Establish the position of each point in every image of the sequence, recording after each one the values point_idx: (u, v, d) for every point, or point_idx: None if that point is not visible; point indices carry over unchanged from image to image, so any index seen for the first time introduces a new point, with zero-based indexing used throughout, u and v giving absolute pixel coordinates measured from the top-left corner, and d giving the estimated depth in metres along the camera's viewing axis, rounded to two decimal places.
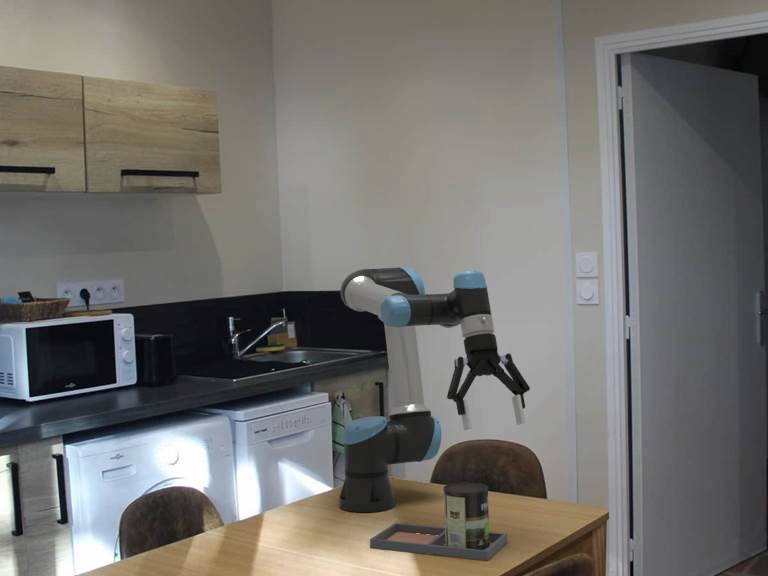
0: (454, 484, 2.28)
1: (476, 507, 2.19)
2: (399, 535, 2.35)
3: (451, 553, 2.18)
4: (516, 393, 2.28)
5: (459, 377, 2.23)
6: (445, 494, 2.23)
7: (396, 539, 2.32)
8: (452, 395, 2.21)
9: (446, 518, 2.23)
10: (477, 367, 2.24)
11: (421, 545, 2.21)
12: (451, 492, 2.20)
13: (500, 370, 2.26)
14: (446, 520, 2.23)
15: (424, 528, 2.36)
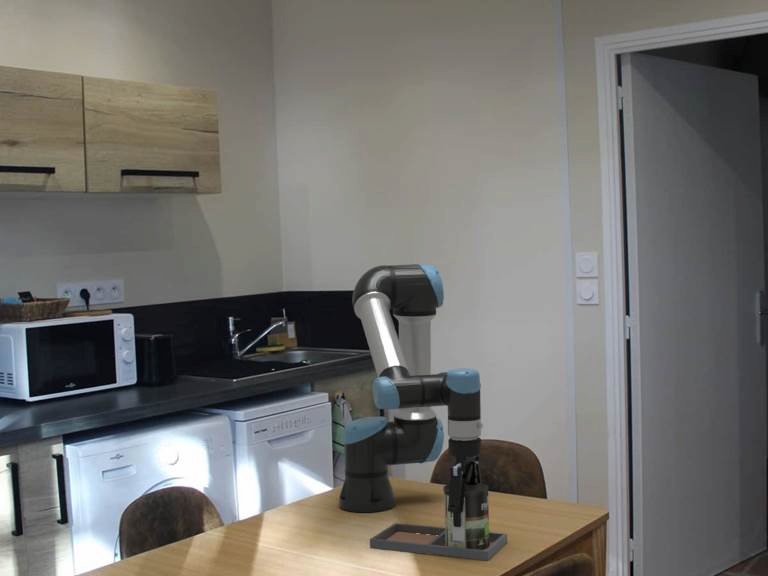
0: None
1: (476, 507, 2.19)
2: (399, 535, 2.35)
3: (451, 553, 2.18)
4: None
5: (461, 489, 2.17)
6: (445, 494, 2.23)
7: (396, 539, 2.32)
8: (458, 510, 2.16)
9: (446, 518, 2.23)
10: (469, 474, 2.21)
11: (421, 545, 2.21)
12: None
13: (476, 474, 2.26)
14: (446, 520, 2.23)
15: (424, 528, 2.36)
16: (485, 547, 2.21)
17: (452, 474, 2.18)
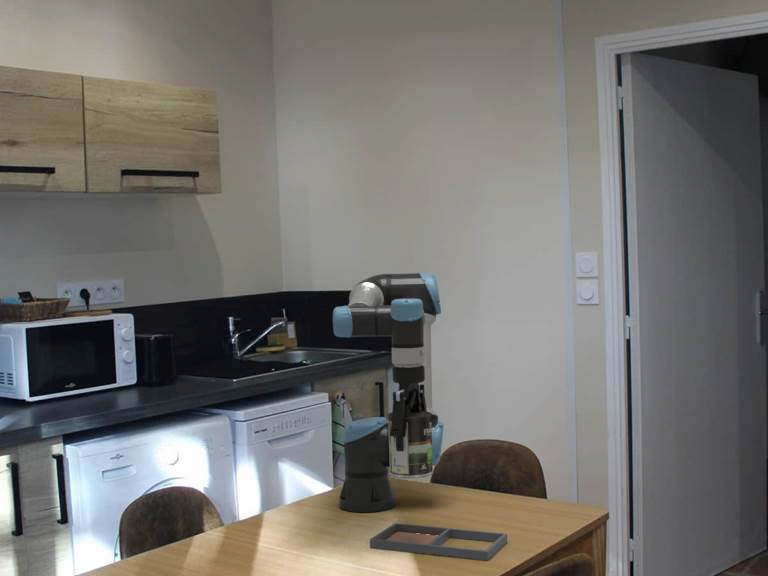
0: None
1: (419, 432, 2.25)
2: (399, 535, 2.35)
3: (451, 553, 2.18)
4: None
5: (403, 414, 2.22)
6: (389, 420, 2.28)
7: (396, 539, 2.32)
8: (400, 434, 2.21)
9: (390, 444, 2.28)
10: (412, 400, 2.26)
11: (421, 545, 2.21)
12: None
13: (420, 402, 2.31)
14: (390, 445, 2.28)
15: (424, 528, 2.36)
16: (428, 471, 2.26)
17: (395, 399, 2.23)
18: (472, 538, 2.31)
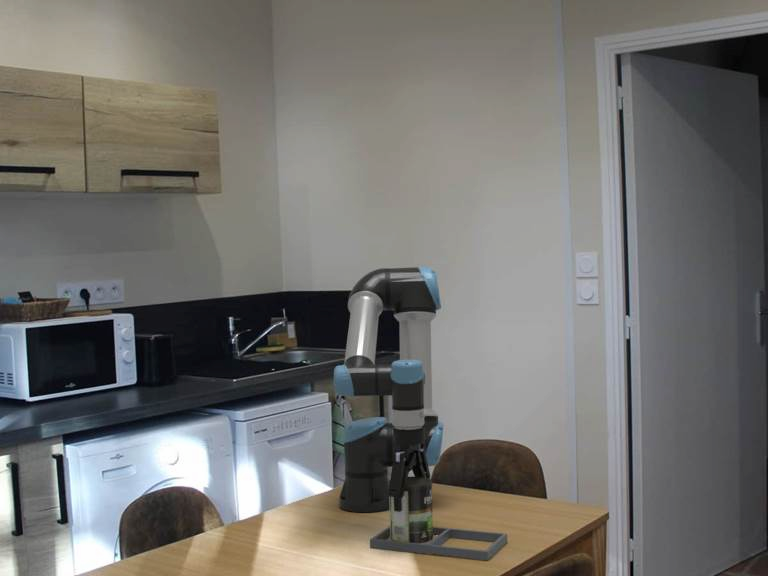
0: None
1: (419, 500, 2.25)
2: None
3: (451, 553, 2.18)
4: None
5: (402, 475, 2.22)
6: None
7: None
8: (398, 495, 2.20)
9: (390, 511, 2.28)
10: (411, 462, 2.26)
11: (421, 545, 2.21)
12: None
13: (421, 462, 2.32)
14: (390, 513, 2.28)
15: None
16: (428, 540, 2.27)
17: (394, 460, 2.23)
18: (472, 538, 2.31)
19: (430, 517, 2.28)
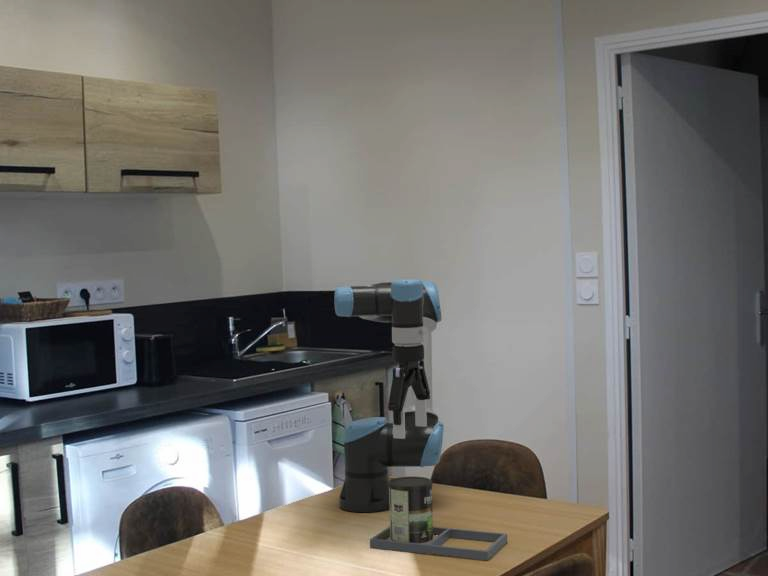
0: (400, 478, 2.33)
1: (419, 500, 2.25)
2: None
3: (451, 553, 2.18)
4: (420, 397, 2.42)
5: (401, 389, 2.27)
6: (390, 488, 2.29)
7: None
8: (398, 408, 2.26)
9: (390, 511, 2.28)
10: (411, 378, 2.31)
11: (421, 545, 2.21)
12: (395, 486, 2.26)
13: (420, 378, 2.37)
14: (390, 513, 2.28)
15: None
16: (428, 540, 2.27)
17: (394, 375, 2.28)
18: (472, 538, 2.31)
19: (430, 517, 2.28)
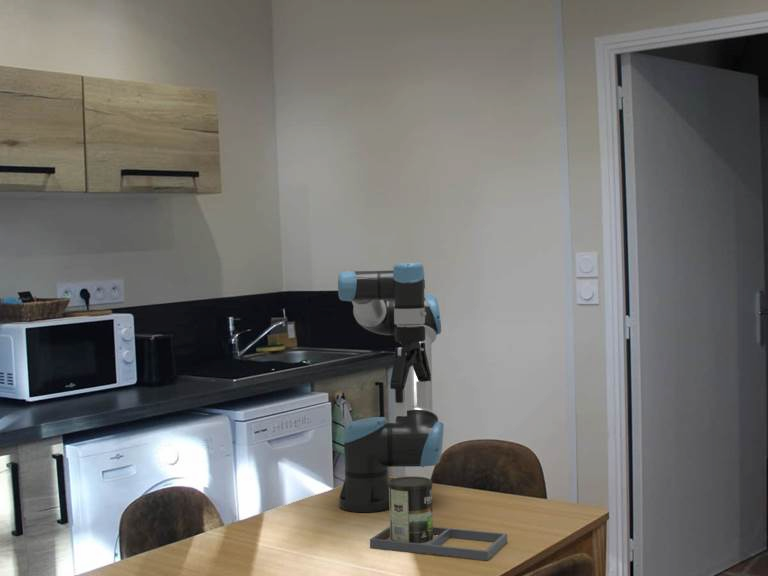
0: (399, 478, 2.33)
1: (419, 500, 2.25)
2: None
3: (451, 553, 2.18)
4: (421, 379, 2.48)
5: (403, 368, 2.34)
6: (389, 488, 2.29)
7: None
8: (399, 385, 2.32)
9: (390, 511, 2.28)
10: (412, 358, 2.38)
11: (421, 545, 2.21)
12: (395, 486, 2.26)
13: (421, 360, 2.43)
14: (390, 513, 2.28)
15: None
16: (428, 540, 2.27)
17: (396, 354, 2.35)
18: (472, 538, 2.31)
19: (430, 517, 2.28)
